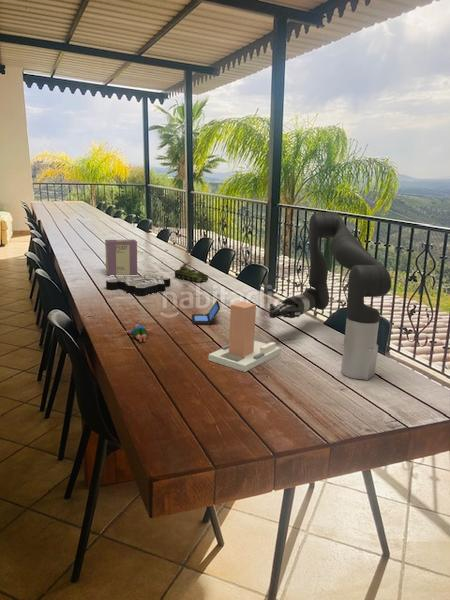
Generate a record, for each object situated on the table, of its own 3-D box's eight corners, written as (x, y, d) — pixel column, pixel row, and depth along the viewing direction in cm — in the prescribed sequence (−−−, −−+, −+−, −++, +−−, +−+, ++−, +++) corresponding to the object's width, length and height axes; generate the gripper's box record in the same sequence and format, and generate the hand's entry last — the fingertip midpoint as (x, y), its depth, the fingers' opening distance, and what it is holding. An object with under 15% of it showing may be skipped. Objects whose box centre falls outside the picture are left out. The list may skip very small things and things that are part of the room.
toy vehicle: (184, 276, 274) (184, 259, 272) (209, 281, 263) (210, 264, 260) (173, 278, 267) (173, 261, 265) (199, 284, 256) (199, 266, 253)
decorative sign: (101, 280, 234) (142, 272, 259) (102, 289, 235) (142, 280, 260) (143, 289, 220) (181, 279, 244) (143, 298, 221) (181, 287, 246)
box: (108, 276, 265) (107, 241, 260) (106, 273, 273) (105, 239, 268) (137, 275, 270) (136, 241, 265) (134, 272, 279) (134, 239, 274)
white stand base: (280, 353, 154) (281, 342, 153) (244, 372, 138) (245, 359, 137) (246, 343, 162) (246, 332, 161) (208, 360, 146) (208, 348, 145)
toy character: (124, 332, 156) (119, 320, 170) (124, 345, 157) (119, 332, 171) (160, 330, 160) (152, 317, 174) (160, 342, 161) (152, 329, 175)
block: (253, 352, 148) (256, 304, 145) (242, 357, 144) (245, 308, 140) (239, 348, 152) (241, 301, 148) (228, 353, 147) (230, 304, 143)
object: (191, 316, 193) (191, 299, 191) (217, 316, 194) (217, 299, 193) (192, 325, 181) (192, 307, 179) (219, 325, 182) (220, 307, 180)
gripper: (281, 293, 175) (255, 301, 162) (312, 299, 167) (289, 308, 154) (279, 312, 177) (254, 321, 163) (311, 319, 169) (287, 329, 156)
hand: (271, 315), depth 159 cm, fingers closed
